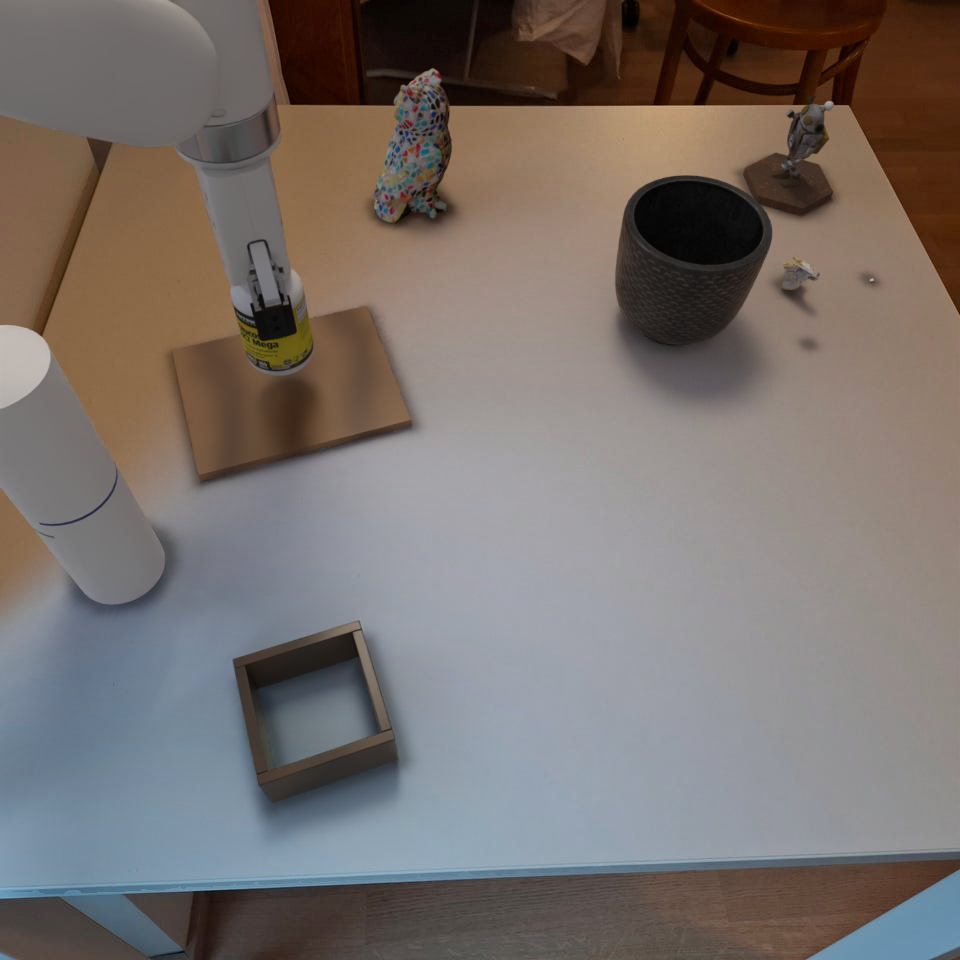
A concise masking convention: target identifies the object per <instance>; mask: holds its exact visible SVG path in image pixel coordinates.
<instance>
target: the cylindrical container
mask: <svg viewBox="0 0 960 960" xmlns="http://www.w3.org/2000/svg"><path fill="white" fill-rule="evenodd" d="M0 489H1V491H3V493H4V494H5V495H6V496H7V498H8V499H9V500H10V501H11V504H13V505H14V507H15V508H16V509H17V510H18V512H19V513H20V514H21V515H22V517H23V518H24V519H25V520H26V522H27V523H28V524H29V525H30V527H31V528H32V529H33V530H34V532H35V533H36V534H37V536H38V537H39V538H40V539H41V541H42V542H43V543H44V545H45V546H46V547H47V549H48V550H49V551H50V552H51V553H52V554H53V556H54V557H55V558H56V559H57V561H58V562H59V563H60V565H61V566H62V567H63V568H64V570H65V571H66V572H67V574H69V576H70V577H71V578H72V580H73V581H74V582H75V584H76V585H77V586H78V588H79V589H80V590H81V591H82V592H83V594H85V595H86V596H87V598H89V599H90V600H93V601H94V602H96V603H98V604H103V605H110V606H113V605H122V604H126V603H130V602H132V601H135V600H138V599H139V598H141V597H143V596H144V595H146V594H147V593H148V592H150V590H152V589H153V588H154V587H155V585H156V584H157V583H158V582H159V580H160V578H161V576H162V575H163V573H164V570H165V567H166V552H165V549H164V547H163V545H162V543H161V541H160V540H159V538H158V535H156V533H155V531H154V529H153V527H152V525H151V524H150V522H149V520H148V519H147V517H146V514H145V513H144V512H143V510H142V508H141V506H140V504H139V503H138V501H137V498H135V495H134V494H133V492H132V490H131V488H130V487H129V485H128V483H127V481H126V480H125V478H124V475H122V473H121V471H120V469H119V467H118V466H117V464H116V462H115V461H114V458H113V457H112V454H111V453H110V451H109V450H108V447H107V446H106V445H105V443H104V441H103V439H102V437H101V435H100V434H99V432H98V431H97V429H96V427H95V425H94V424H93V422H92V420H91V418H90V417H89V414H88V413H87V411H86V409H85V408H84V406H83V404H82V402H81V401H80V399H79V397H78V395H77V393H76V392H75V390H74V388H73V386H72V385H71V383H70V381H69V379H68V378H67V376H66V374H65V373H64V370H63V369H62V367H61V365H60V363H59V362H58V360H57V359H56V356H55V355H54V353H53V351H52V349H51V348H50V345H49V344H48V343H47V341H46V340H45V338H44V337H42V336H41V335H40V334H39V333H37V332H36V331H35V330H32V329H31V328H28V327H24V326H19V325H11V324H0Z"/></svg>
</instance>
